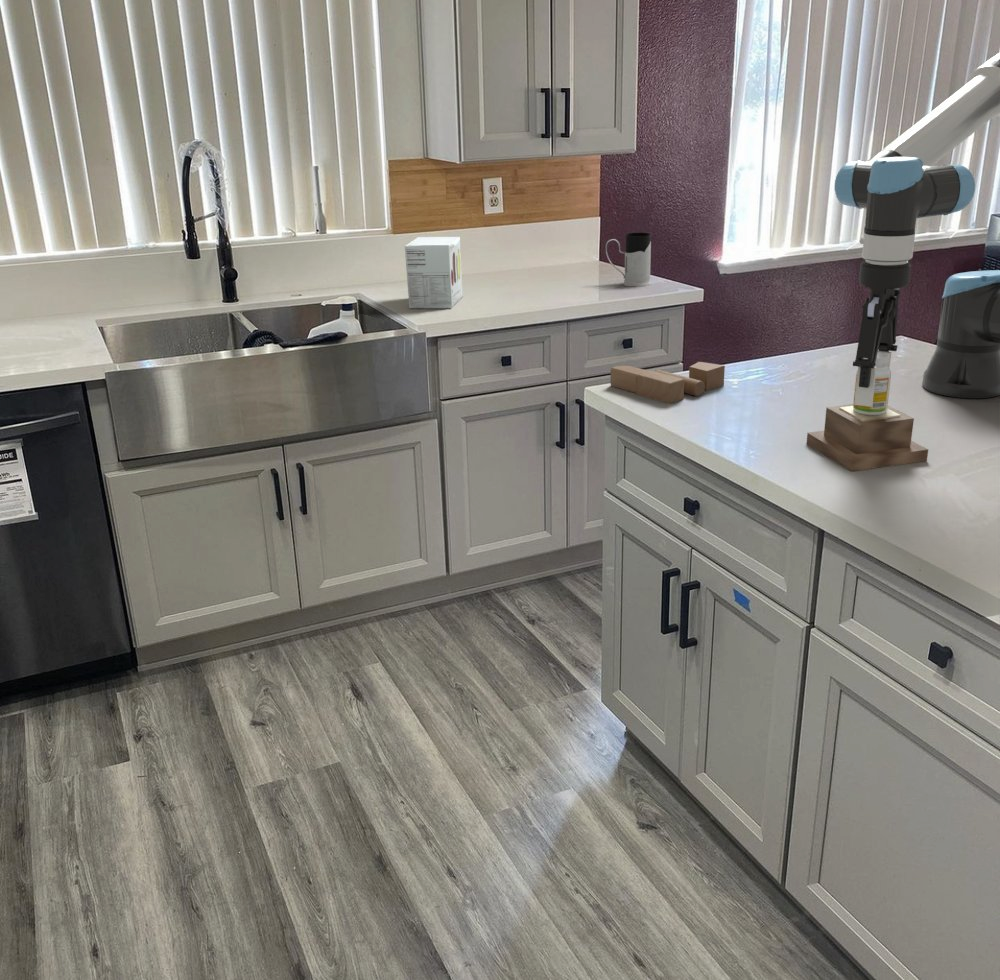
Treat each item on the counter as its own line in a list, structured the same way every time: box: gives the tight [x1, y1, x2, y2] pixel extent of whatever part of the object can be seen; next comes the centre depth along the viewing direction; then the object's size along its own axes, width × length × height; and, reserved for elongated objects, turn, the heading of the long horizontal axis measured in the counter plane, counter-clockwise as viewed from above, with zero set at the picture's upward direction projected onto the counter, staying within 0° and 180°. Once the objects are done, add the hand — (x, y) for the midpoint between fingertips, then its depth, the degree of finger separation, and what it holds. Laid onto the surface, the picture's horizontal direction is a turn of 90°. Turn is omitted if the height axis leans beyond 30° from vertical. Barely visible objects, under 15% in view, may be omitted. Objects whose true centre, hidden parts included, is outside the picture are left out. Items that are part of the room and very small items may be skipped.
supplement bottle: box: [852, 352, 892, 415], centre depth 165 cm, size 5×5×10 cm
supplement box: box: [404, 236, 464, 309], centre depth 291 cm, size 17×13×18 cm
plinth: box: [806, 403, 929, 472], centre depth 168 cm, size 14×14×7 cm
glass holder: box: [605, 232, 652, 288], centre depth 306 cm, size 9×14×15 cm, turn 84°
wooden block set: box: [610, 361, 726, 405], centre depth 208 cm, size 17×6×18 cm
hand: (871, 396), depth 166 cm, fingers open, 9 cm apart
